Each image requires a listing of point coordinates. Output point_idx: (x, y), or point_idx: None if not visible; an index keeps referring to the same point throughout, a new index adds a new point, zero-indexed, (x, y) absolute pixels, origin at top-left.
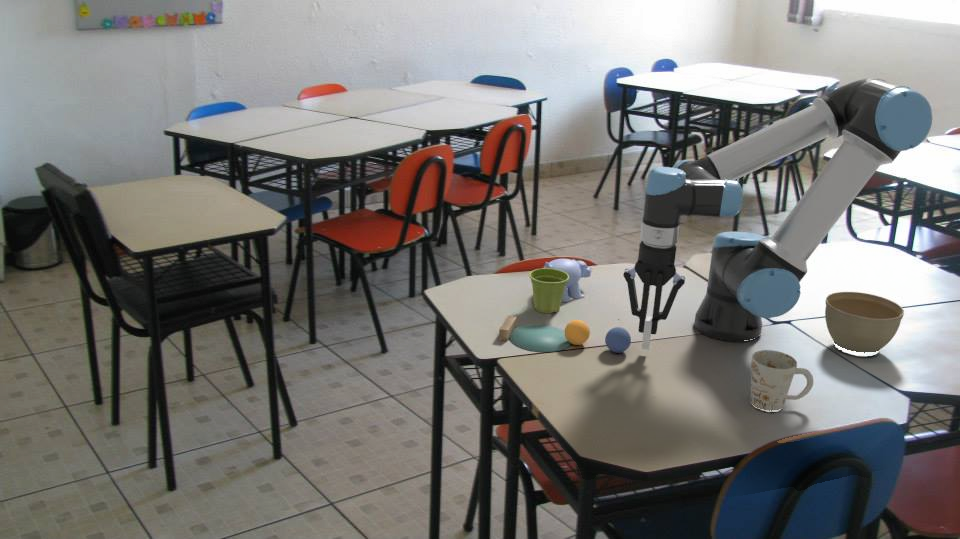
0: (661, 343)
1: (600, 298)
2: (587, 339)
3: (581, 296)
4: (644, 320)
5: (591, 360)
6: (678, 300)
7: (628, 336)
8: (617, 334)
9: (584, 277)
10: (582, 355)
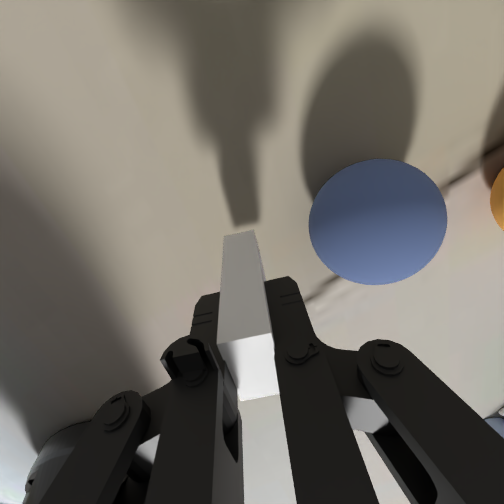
0: None
1: None
2: (500, 184)
3: None
4: (278, 340)
5: (450, 36)
6: (270, 491)
7: (333, 234)
8: (401, 199)
9: None
10: (495, 72)
